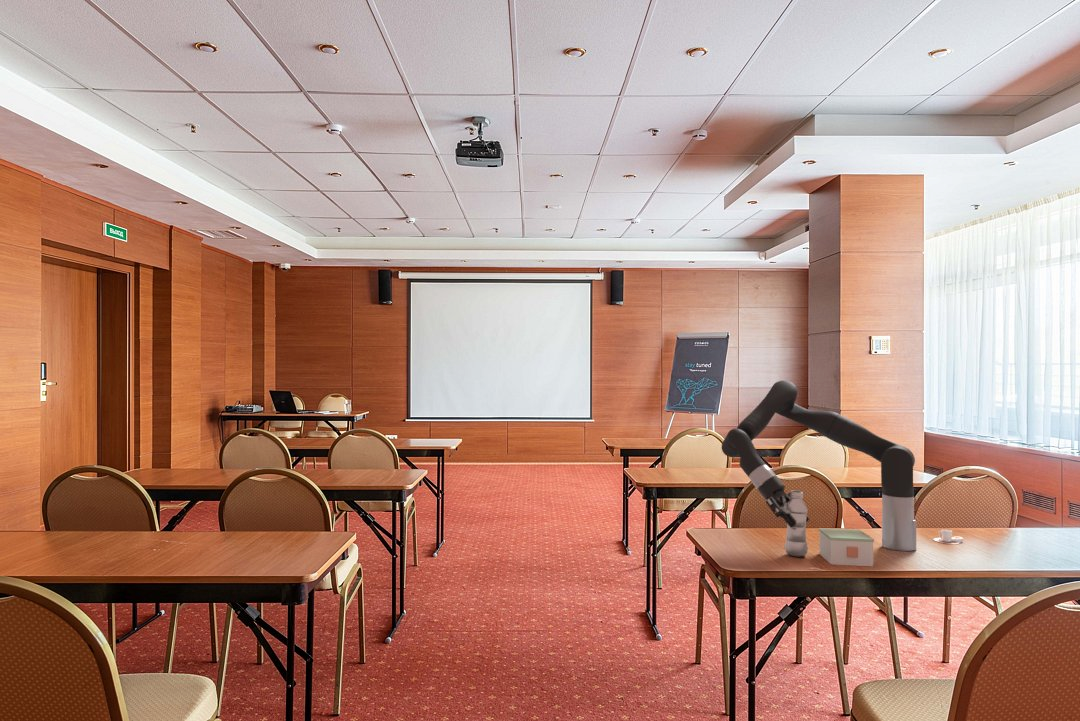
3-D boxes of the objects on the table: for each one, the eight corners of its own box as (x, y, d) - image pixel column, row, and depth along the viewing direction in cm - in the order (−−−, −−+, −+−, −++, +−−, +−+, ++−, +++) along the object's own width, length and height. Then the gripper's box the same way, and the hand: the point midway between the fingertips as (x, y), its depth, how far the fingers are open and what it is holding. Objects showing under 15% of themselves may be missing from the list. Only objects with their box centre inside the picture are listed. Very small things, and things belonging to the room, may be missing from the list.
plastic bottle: (807, 559, 204) (807, 494, 205) (783, 557, 207) (784, 492, 208) (808, 554, 210) (808, 490, 211) (785, 552, 213) (785, 489, 213)
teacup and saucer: (963, 542, 230) (963, 530, 230) (963, 547, 224) (963, 534, 224) (934, 538, 235) (934, 526, 235) (932, 543, 228) (932, 531, 228)
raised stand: (859, 555, 210) (859, 529, 210) (874, 566, 198) (874, 539, 198) (818, 553, 212) (819, 528, 212) (831, 564, 199) (831, 537, 199)
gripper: (769, 486, 223) (802, 527, 215) (747, 491, 214) (781, 534, 205) (785, 472, 219) (819, 513, 211) (762, 477, 210) (797, 520, 201)
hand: (800, 523), depth 208 cm, fingers open, 8 cm apart
